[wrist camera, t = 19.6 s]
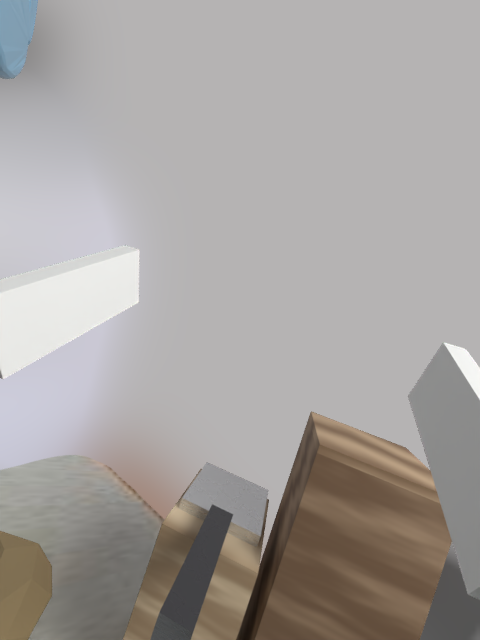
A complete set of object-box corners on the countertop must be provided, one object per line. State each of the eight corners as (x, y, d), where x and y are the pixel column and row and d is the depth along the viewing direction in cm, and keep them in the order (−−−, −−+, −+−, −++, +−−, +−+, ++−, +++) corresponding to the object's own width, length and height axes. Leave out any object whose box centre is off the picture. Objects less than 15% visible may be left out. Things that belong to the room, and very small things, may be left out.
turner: (231, 694, 17) (242, 661, 17) (105, 615, 18) (115, 586, 18) (265, 498, 37) (270, 484, 37) (204, 470, 39) (208, 456, 39)
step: (180, 806, 25) (258, 573, 25) (89, 739, 27) (162, 523, 27) (216, 658, 37) (268, 499, 37) (150, 618, 39) (201, 468, 39)
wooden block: (329, 917, 23) (464, 502, 23) (195, 818, 25) (319, 444, 25) (316, 719, 34) (405, 447, 35) (226, 665, 37) (311, 411, 37)
